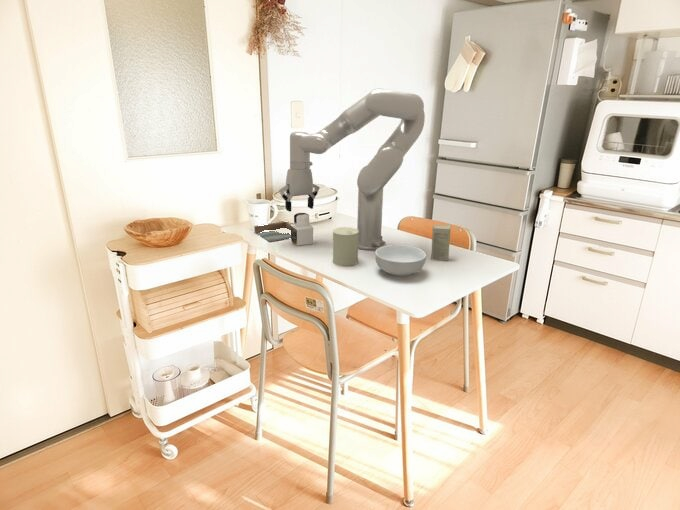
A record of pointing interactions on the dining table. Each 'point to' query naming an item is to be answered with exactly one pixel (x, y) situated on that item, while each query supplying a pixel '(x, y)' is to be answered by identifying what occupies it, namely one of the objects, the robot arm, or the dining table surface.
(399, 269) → the cereal bowl
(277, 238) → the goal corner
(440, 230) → the skincare box
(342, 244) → the can
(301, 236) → the medicine bottle
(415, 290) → the dining table surface
